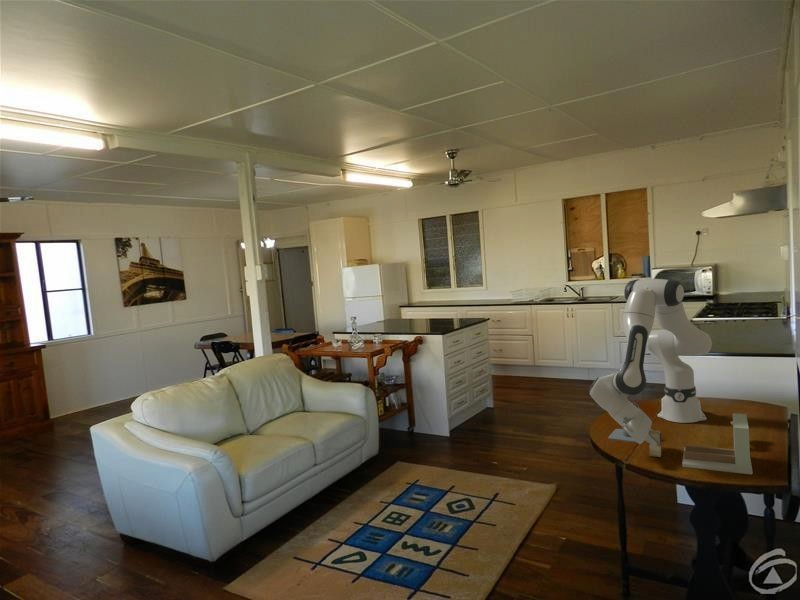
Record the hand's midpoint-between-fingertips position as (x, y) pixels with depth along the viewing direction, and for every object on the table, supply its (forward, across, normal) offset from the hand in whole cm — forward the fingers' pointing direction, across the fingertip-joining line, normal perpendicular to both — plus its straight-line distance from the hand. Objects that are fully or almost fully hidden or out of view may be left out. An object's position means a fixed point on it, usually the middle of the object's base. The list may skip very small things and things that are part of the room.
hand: (656, 442), depth 190 cm
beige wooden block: (+3, 0, +4) cm, 5 cm away
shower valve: (-4, +18, +12) cm, 22 cm away
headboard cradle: (+16, 0, -10) cm, 19 cm away
